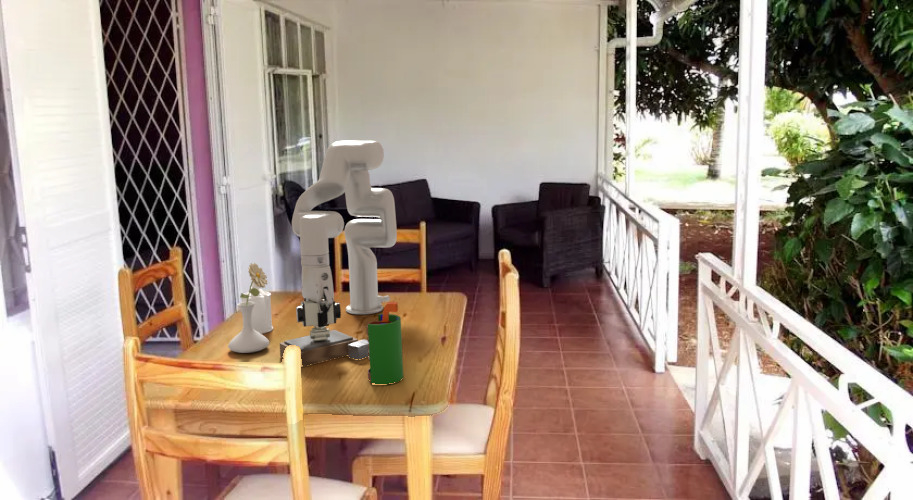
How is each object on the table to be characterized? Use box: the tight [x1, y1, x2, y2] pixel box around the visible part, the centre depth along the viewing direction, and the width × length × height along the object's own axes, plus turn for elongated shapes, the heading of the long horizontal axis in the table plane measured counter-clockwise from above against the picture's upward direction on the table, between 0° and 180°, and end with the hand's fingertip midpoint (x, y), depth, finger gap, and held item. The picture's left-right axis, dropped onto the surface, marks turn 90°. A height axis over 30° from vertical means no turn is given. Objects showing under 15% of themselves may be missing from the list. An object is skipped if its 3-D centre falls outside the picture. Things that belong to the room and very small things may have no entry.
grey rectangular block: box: [347, 339, 369, 361], centre depth 203 cm, size 6×4×4 cm, turn 142°
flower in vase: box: [227, 262, 270, 354], centre depth 209 cm, size 13×11×25 cm
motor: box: [366, 301, 404, 384], centre depth 185 cm, size 10×9×20 cm
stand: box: [279, 329, 359, 368], centre depth 205 cm, size 18×12×5 cm, turn 130°
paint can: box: [239, 282, 274, 335], centre depth 228 cm, size 10×9×20 cm
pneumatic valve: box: [295, 299, 342, 342], centre depth 203 cm, size 6×12×12 cm, turn 107°
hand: (318, 323), depth 204 cm, fingers closed on pneumatic valve, 5 cm apart
